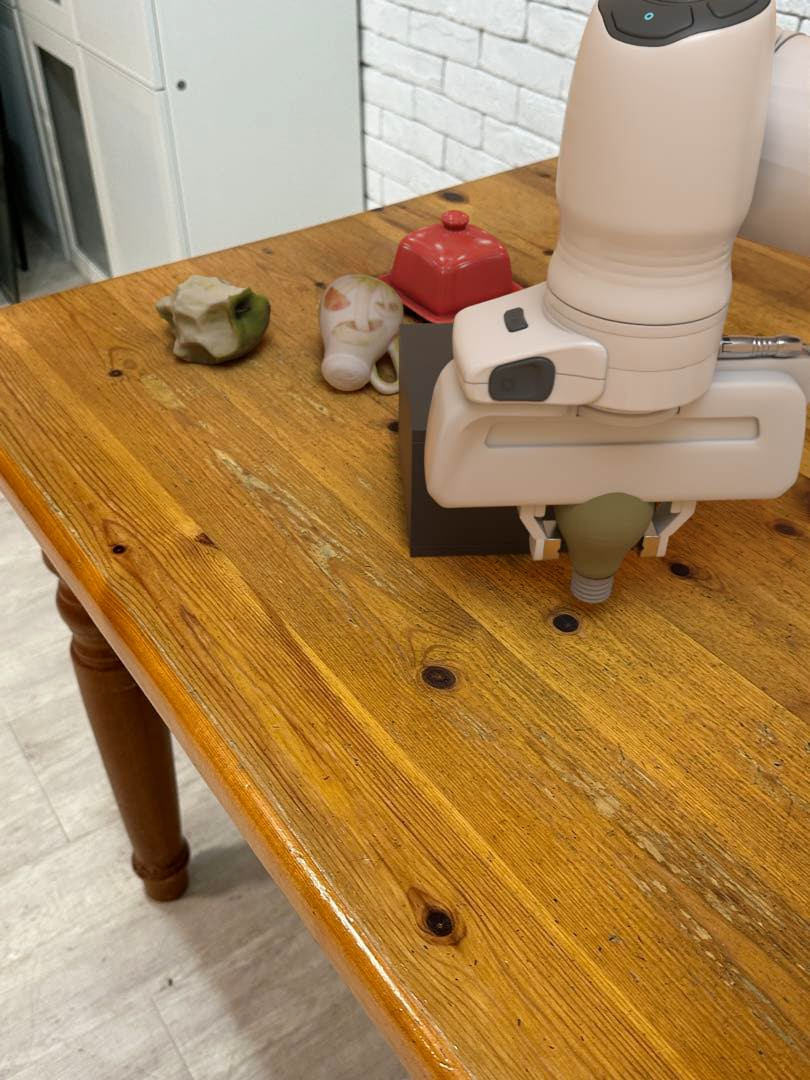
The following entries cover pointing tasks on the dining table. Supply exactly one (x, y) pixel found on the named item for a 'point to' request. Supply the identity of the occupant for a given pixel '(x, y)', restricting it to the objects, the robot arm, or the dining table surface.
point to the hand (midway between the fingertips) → (595, 552)
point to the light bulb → (601, 539)
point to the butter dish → (450, 268)
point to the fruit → (214, 319)
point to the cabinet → (425, 518)
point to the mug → (359, 331)
